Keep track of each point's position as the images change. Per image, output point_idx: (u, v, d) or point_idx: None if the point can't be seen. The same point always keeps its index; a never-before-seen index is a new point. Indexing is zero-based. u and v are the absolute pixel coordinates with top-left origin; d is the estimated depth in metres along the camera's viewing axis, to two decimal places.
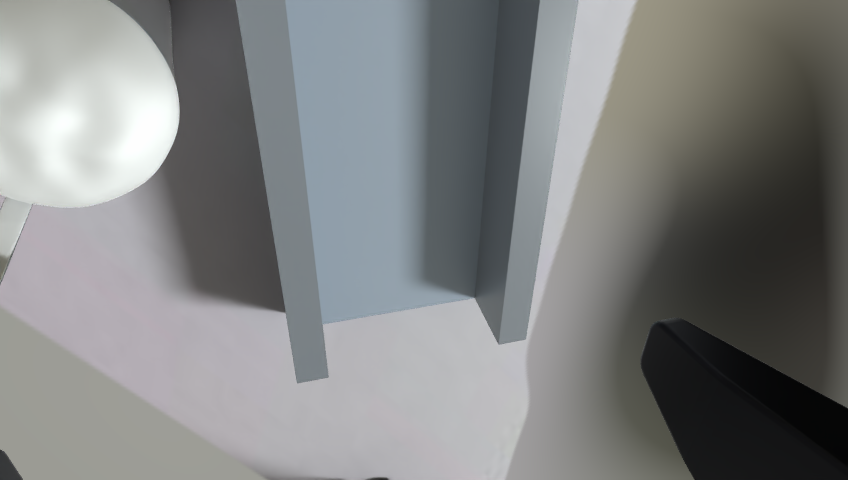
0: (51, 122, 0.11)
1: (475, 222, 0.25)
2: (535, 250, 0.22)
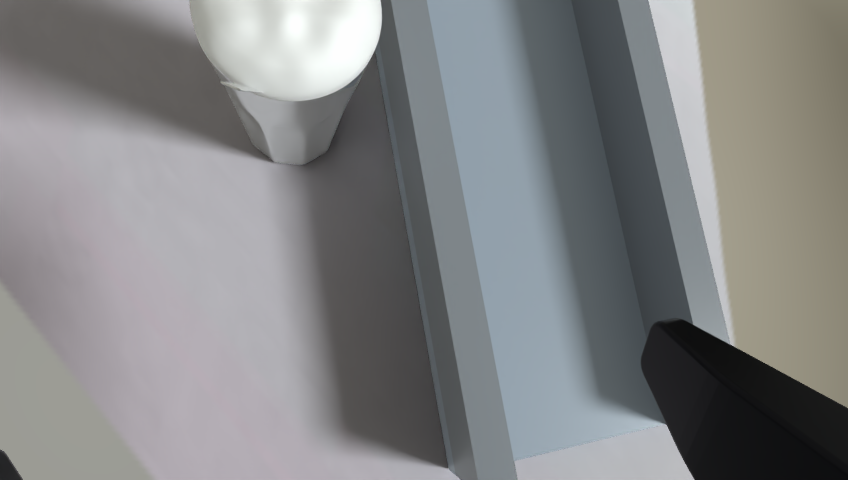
0: None
1: (635, 315, 0.23)
2: (713, 290, 0.20)
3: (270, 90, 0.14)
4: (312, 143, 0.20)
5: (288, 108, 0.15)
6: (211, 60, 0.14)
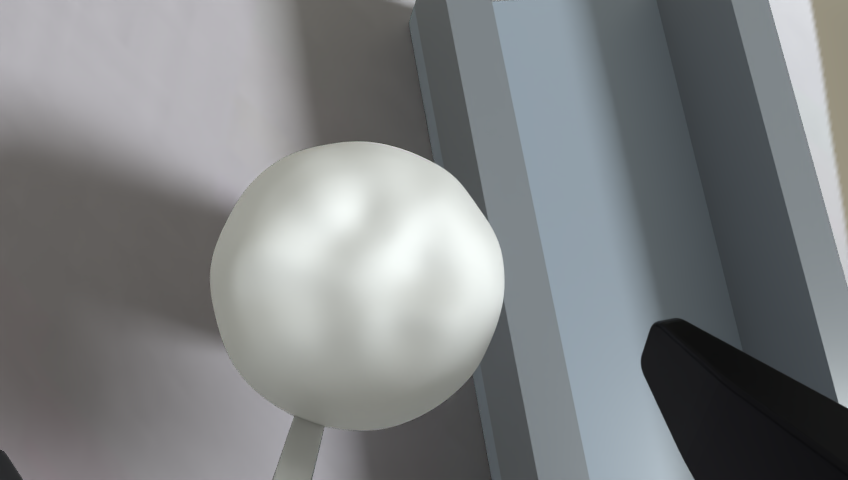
0: (386, 272, 0.09)
1: None
2: None
3: (337, 424, 0.09)
4: None
5: None
6: (244, 379, 0.09)
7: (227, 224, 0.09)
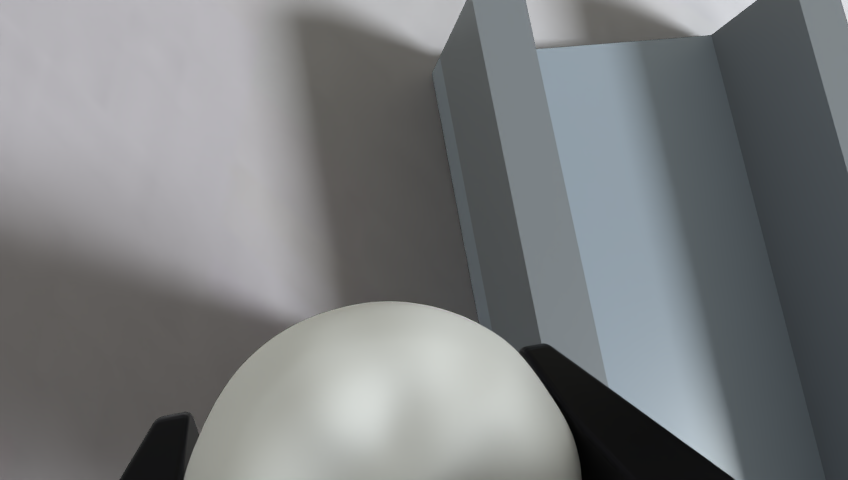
0: None
1: None
2: None
3: None
4: None
5: None
6: None
7: (202, 438, 0.07)
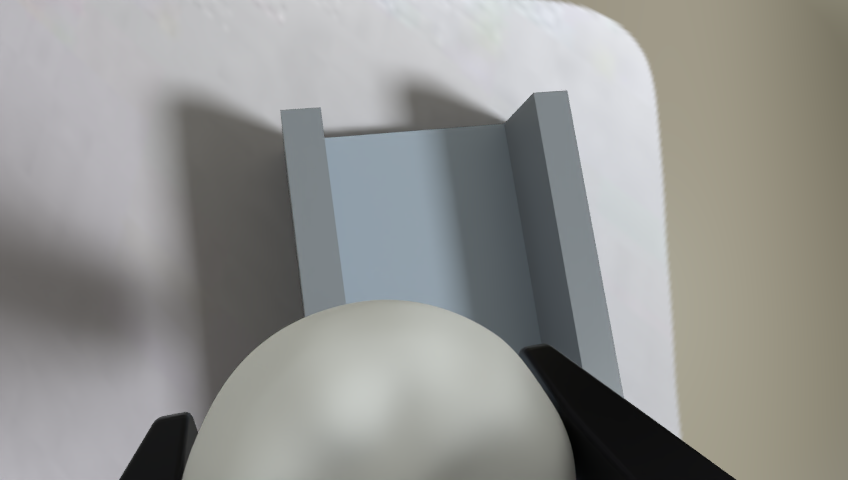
0: None
1: None
2: None
3: None
4: None
5: None
6: None
7: (202, 436, 0.07)
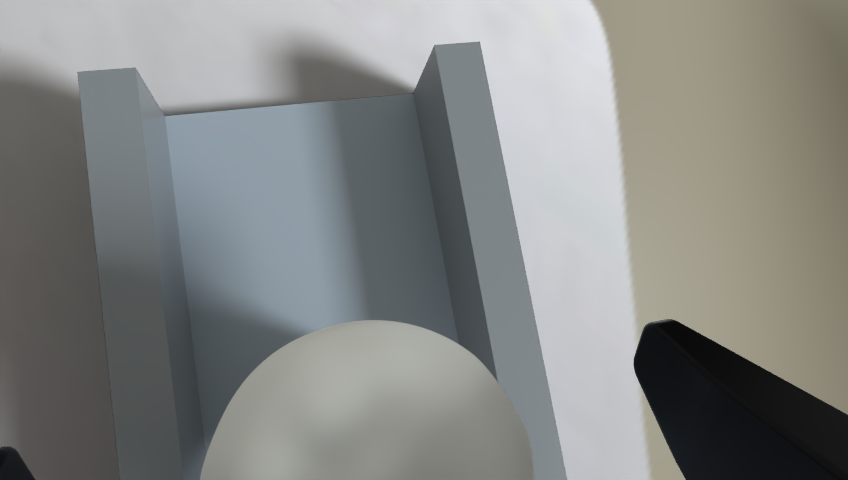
0: None
1: None
2: None
3: None
4: None
5: None
6: None
7: (217, 437, 0.08)
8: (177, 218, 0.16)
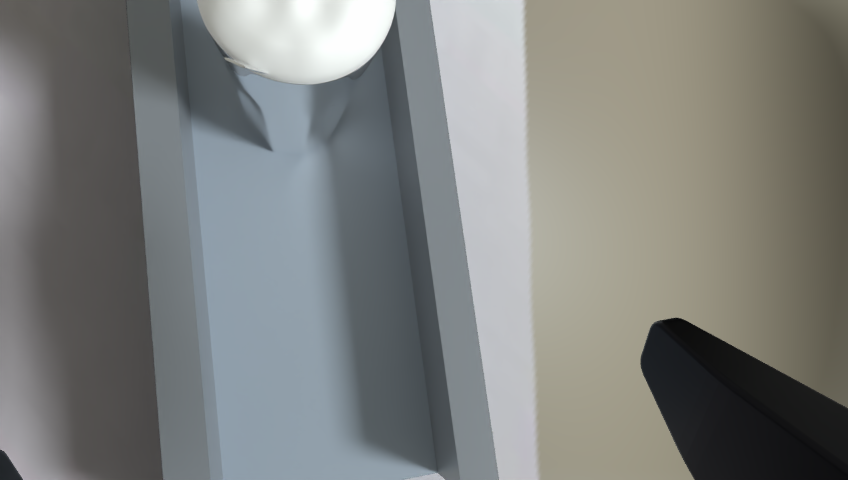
0: None
1: (414, 353, 0.21)
2: (472, 334, 0.19)
3: (276, 71, 0.13)
4: (314, 132, 0.19)
5: (293, 92, 0.14)
6: (214, 37, 0.13)
7: None
8: None
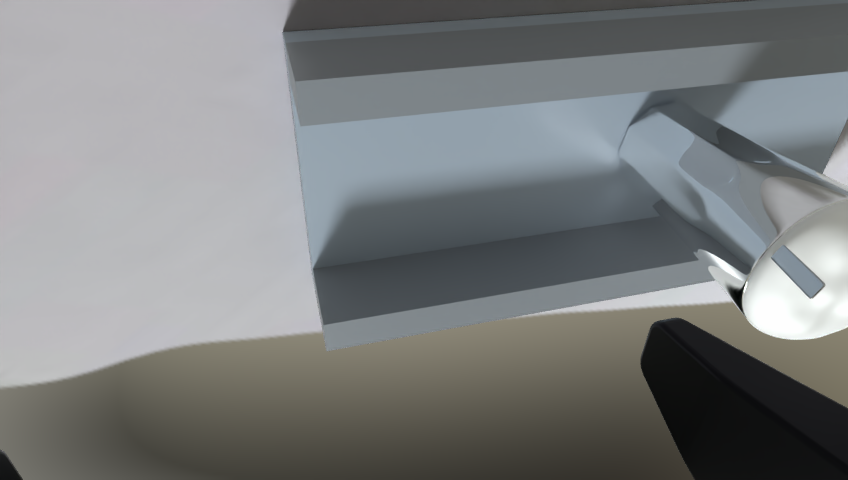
0: (846, 302, 0.16)
1: (422, 246, 0.23)
2: (457, 323, 0.21)
3: (771, 267, 0.16)
4: (655, 195, 0.20)
5: (738, 257, 0.16)
6: (816, 221, 0.15)
7: None
8: None
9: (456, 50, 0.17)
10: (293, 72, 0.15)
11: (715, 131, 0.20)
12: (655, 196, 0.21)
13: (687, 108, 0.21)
